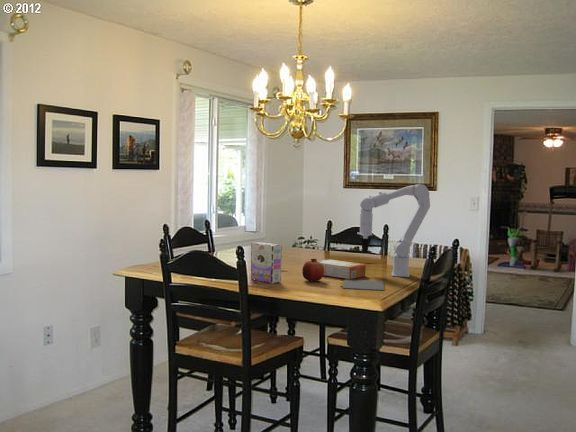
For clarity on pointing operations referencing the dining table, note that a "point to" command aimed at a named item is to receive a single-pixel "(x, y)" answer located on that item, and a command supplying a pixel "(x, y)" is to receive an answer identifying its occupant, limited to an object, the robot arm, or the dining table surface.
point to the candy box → (266, 262)
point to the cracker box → (343, 269)
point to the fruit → (313, 270)
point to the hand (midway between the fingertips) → (365, 252)
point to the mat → (363, 285)
